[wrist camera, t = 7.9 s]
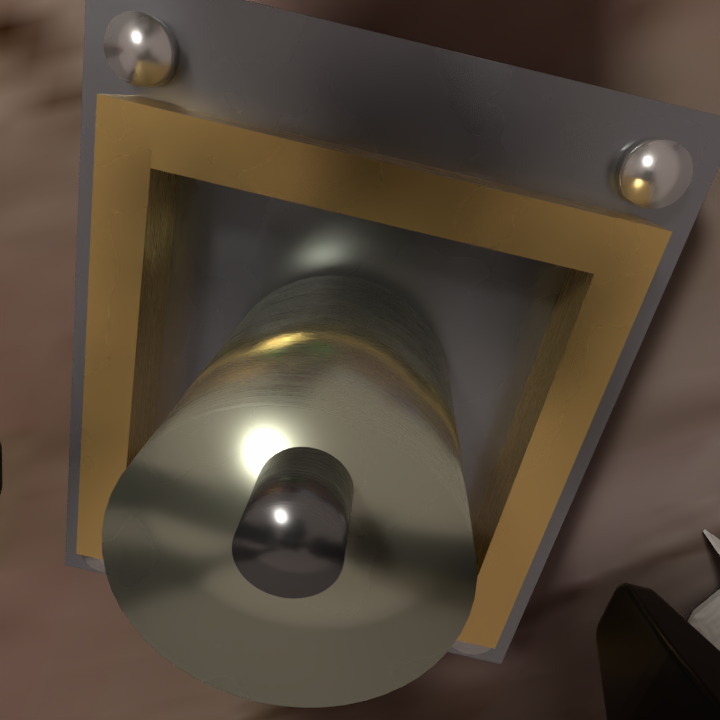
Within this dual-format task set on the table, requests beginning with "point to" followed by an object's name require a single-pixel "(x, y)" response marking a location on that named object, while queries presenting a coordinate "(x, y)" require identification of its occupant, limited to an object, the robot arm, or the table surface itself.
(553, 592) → the table surface
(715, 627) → the paper towel roll
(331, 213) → the grey gold-framed plate fixture
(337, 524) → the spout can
